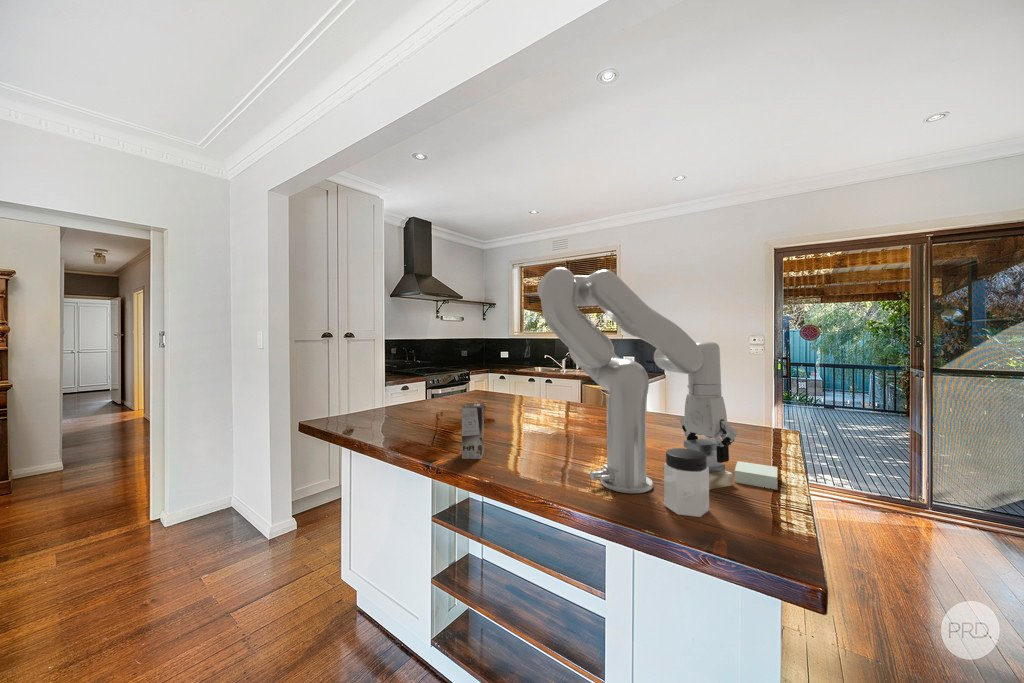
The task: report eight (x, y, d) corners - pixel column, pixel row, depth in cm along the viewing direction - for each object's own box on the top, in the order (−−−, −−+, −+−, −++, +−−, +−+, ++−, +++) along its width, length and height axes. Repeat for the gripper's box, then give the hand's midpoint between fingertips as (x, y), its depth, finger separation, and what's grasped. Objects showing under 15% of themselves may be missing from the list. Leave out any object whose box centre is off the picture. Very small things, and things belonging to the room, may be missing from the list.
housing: (698, 474, 95) (698, 445, 95) (683, 468, 100) (683, 440, 100) (725, 470, 98) (724, 442, 98) (709, 464, 103) (709, 437, 103)
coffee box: (482, 459, 119) (481, 407, 119) (461, 459, 119) (460, 407, 119) (484, 450, 128) (484, 402, 128) (465, 450, 128) (464, 402, 128)
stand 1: (704, 490, 93) (704, 477, 93) (677, 477, 102) (677, 466, 102) (732, 485, 96) (732, 473, 96) (704, 473, 105) (704, 462, 105)
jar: (665, 513, 81) (665, 457, 81) (662, 498, 89) (662, 446, 89) (712, 519, 78) (712, 460, 78) (705, 503, 86) (705, 449, 86)
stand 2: (777, 489, 93) (777, 477, 93) (734, 482, 98) (734, 470, 98) (777, 478, 100) (777, 467, 100) (737, 472, 106) (737, 461, 106)
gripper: (669, 387, 106) (671, 449, 106) (721, 395, 89) (724, 468, 90) (690, 385, 108) (693, 446, 108) (745, 393, 92) (748, 464, 92)
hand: (707, 456), depth 99 cm, fingers open, 9 cm apart
